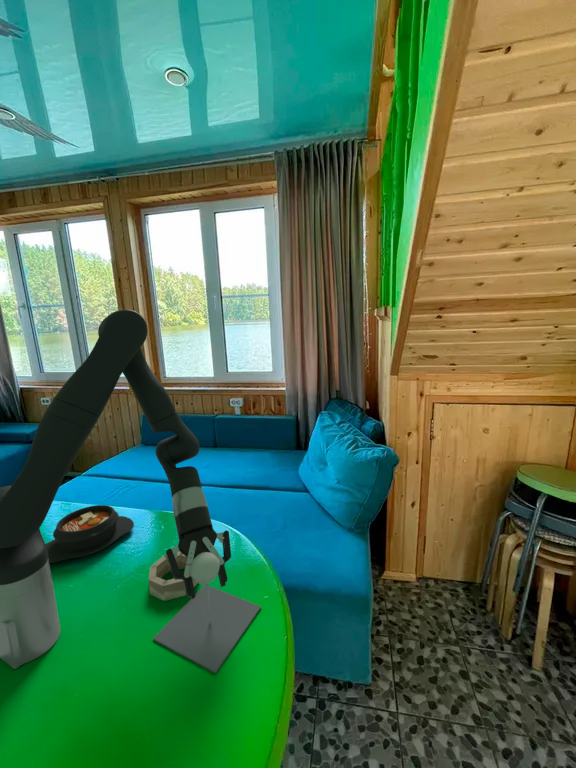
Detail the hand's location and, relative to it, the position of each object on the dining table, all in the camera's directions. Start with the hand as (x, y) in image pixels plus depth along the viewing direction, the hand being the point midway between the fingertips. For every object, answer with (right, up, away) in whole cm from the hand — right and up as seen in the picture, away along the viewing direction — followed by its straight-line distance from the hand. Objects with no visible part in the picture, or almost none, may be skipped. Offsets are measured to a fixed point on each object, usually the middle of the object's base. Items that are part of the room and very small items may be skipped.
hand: (208, 591), depth 68 cm
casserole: (-44, -6, +32) cm, 55 cm away
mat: (0, -9, +3) cm, 9 cm away
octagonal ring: (-12, -7, +15) cm, 21 cm away
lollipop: (0, -8, +3) cm, 8 cm away
